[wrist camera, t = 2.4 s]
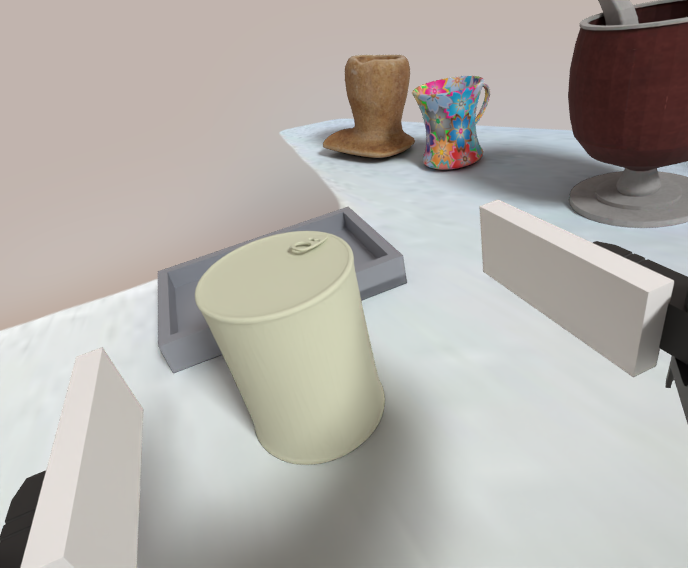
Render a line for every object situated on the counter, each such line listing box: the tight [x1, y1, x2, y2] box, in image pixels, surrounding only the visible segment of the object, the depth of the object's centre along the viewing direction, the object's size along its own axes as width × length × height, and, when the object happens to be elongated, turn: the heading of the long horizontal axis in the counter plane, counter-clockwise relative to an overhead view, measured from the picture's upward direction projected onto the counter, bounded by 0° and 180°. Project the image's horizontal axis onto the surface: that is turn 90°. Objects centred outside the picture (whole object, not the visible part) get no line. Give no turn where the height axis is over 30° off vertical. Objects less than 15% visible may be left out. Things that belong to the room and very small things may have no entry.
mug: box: [412, 76, 490, 169], centre depth 63 cm, size 12×9×11 cm
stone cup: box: [323, 55, 415, 158], centre depth 73 cm, size 15×12×15 cm
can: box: [195, 231, 385, 465], centre depth 28 cm, size 9×9×12 cm
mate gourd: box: [568, 0, 688, 228], centre depth 42 cm, size 16×14×20 cm
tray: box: [158, 207, 407, 373], centre depth 45 cm, size 22×14×3 cm, turn 111°
